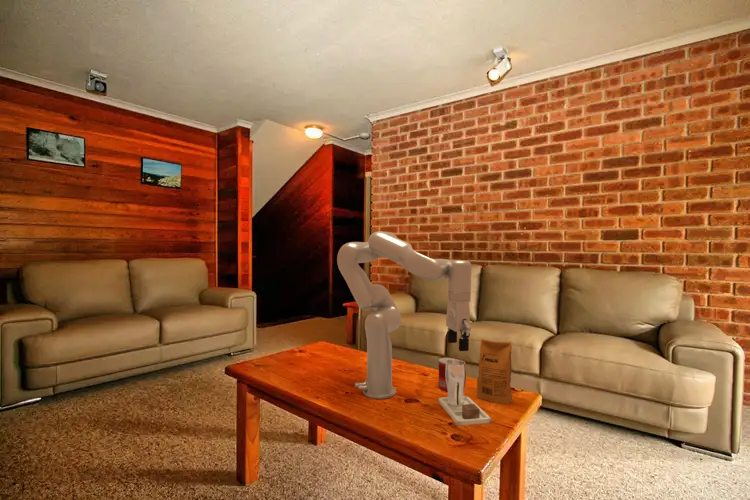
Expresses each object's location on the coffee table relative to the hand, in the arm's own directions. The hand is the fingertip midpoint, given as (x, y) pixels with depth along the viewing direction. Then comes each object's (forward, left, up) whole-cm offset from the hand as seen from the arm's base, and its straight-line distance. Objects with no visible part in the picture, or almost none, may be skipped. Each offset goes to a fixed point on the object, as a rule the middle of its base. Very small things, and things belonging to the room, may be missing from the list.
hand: (457, 346), depth 124 cm
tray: (0, -3, -22) cm, 22 cm away
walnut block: (0, -9, -21) cm, 23 cm away
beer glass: (0, +1, -21) cm, 21 cm away
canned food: (+4, +20, -22) cm, 30 cm away
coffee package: (+16, +6, -22) cm, 28 cm away
